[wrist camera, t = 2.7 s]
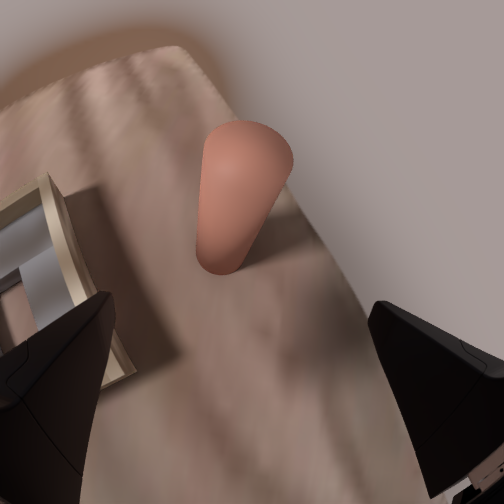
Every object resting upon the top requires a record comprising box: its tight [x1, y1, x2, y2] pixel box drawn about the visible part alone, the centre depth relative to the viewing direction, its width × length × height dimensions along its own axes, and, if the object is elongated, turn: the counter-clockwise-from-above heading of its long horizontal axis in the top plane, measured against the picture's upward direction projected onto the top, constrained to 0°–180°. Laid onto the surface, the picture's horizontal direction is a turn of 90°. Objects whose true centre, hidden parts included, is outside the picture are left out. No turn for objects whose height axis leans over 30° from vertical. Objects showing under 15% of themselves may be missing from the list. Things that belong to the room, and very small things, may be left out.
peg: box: [196, 121, 293, 275], centre depth 17 cm, size 4×4×12 cm
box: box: [0, 172, 137, 390], centre depth 15 cm, size 16×16×4 cm
